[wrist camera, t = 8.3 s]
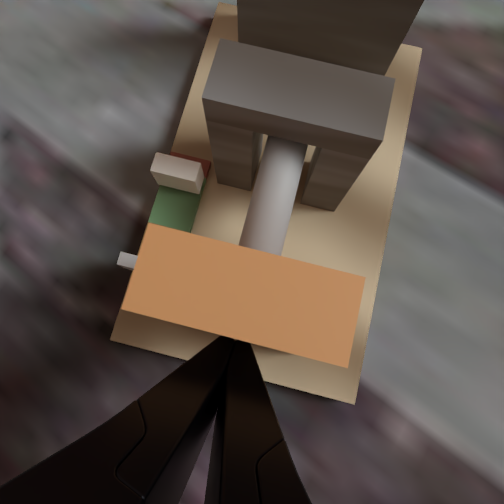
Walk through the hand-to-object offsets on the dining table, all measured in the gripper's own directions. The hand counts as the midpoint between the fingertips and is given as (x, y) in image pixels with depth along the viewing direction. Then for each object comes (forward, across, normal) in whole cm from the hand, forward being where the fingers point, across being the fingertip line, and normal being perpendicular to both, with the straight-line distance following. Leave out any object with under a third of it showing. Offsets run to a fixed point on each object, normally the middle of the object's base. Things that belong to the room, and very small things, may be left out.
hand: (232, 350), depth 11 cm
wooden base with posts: (+10, 0, 0) cm, 10 cm away
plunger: (+7, -1, 0) cm, 7 cm away
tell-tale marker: (+8, -4, +1) cm, 9 cm away
